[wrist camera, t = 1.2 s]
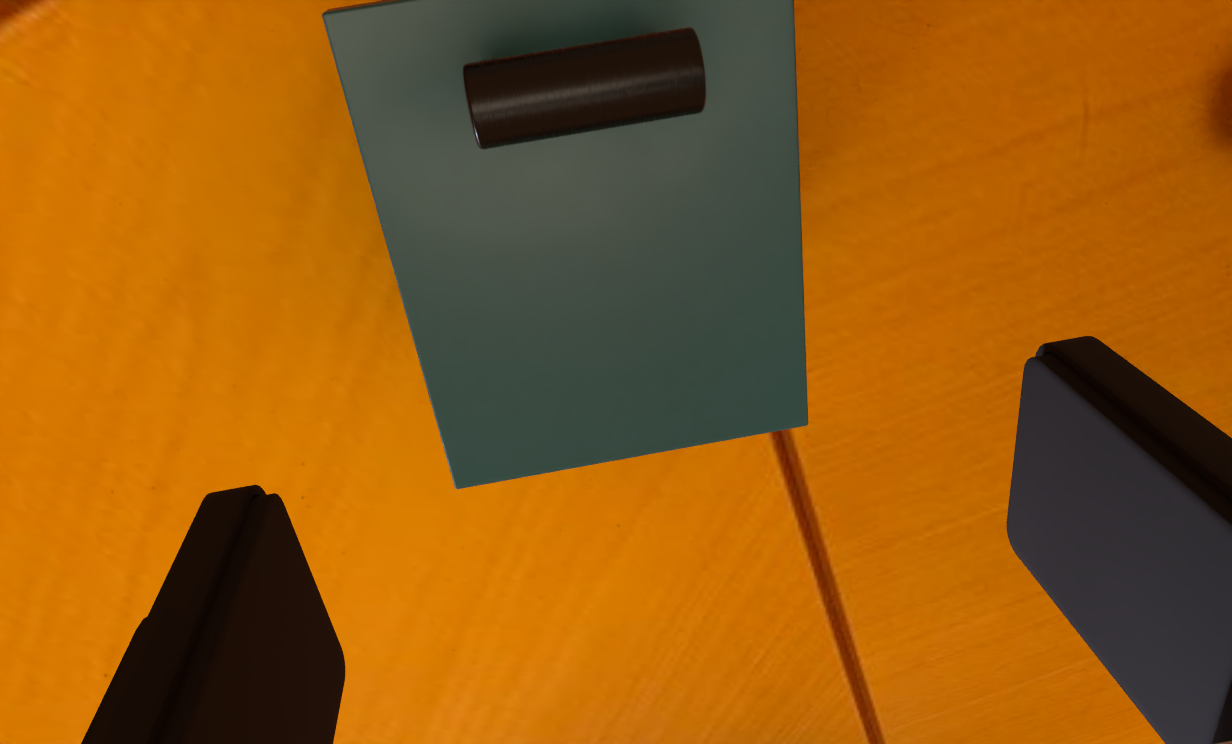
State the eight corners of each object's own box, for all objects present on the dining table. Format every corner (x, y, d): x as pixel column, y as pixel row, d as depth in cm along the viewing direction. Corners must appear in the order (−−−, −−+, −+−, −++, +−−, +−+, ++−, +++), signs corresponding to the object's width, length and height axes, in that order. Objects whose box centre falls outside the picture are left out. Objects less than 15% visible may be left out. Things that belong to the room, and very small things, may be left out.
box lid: (326, 8, 22) (279, 41, 17) (783, -65, 22) (860, -52, 18) (456, 475, 29) (448, 589, 24) (801, 413, 29) (859, 513, 25)
